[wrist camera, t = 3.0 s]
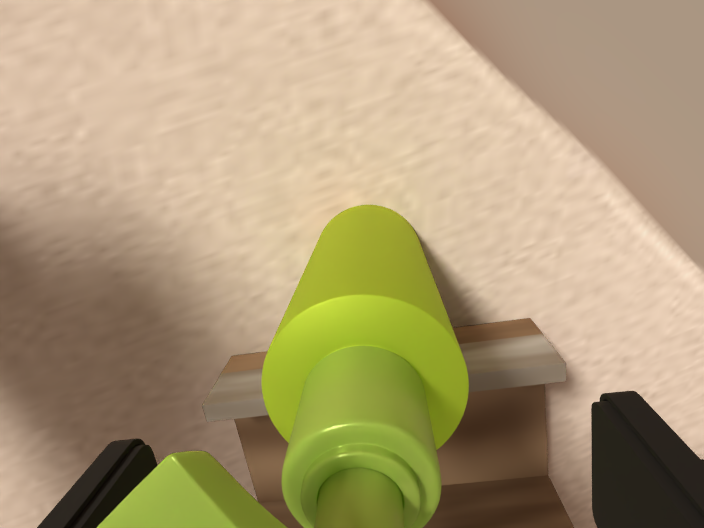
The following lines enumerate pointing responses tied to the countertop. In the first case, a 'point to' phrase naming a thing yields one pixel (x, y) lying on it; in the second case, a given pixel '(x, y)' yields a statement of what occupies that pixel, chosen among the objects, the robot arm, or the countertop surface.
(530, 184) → the countertop surface
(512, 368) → the board
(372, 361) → the soap dispenser
